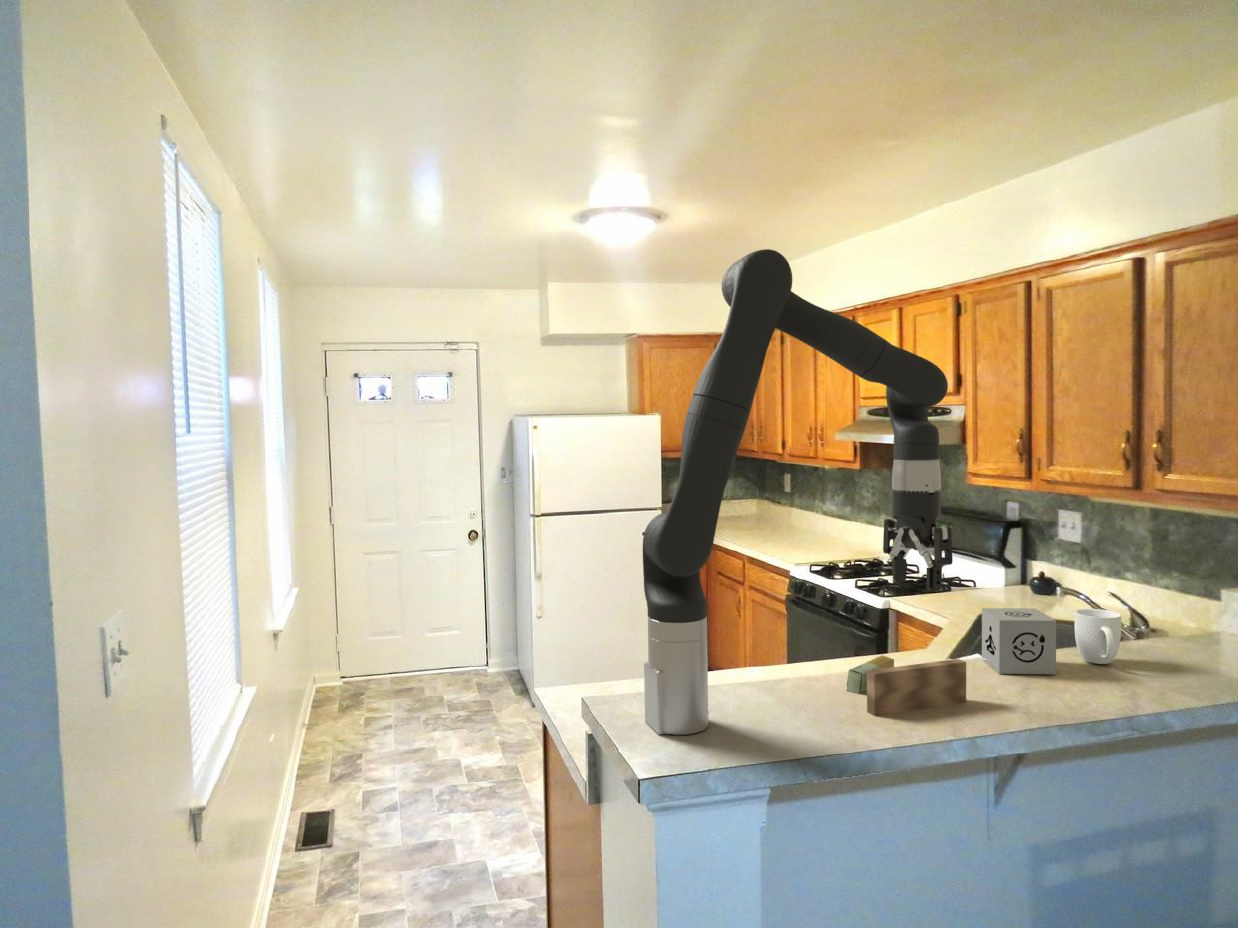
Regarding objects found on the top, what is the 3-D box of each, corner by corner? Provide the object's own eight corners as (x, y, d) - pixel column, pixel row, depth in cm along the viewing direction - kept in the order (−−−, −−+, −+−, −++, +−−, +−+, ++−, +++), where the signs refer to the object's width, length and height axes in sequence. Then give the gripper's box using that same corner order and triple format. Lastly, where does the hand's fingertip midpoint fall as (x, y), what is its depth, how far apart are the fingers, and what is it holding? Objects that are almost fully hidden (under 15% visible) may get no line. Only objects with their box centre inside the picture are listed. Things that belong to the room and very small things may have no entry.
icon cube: (1034, 658, 166) (1035, 608, 165) (1055, 674, 156) (1056, 620, 155) (981, 658, 167) (981, 608, 166) (999, 673, 157) (999, 620, 156)
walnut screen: (874, 717, 136) (874, 674, 135) (867, 713, 138) (866, 670, 137) (966, 703, 141) (966, 661, 141) (957, 699, 143) (957, 658, 143)
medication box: (859, 696, 146) (861, 674, 146) (845, 691, 148) (847, 669, 148) (893, 678, 155) (895, 657, 154) (879, 674, 156) (881, 653, 156)
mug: (1134, 671, 156) (1135, 621, 156) (1088, 670, 158) (1089, 620, 157) (1110, 655, 167) (1110, 608, 166) (1067, 654, 168) (1068, 608, 168)
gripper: (870, 485, 143) (870, 580, 144) (926, 491, 130) (926, 595, 131) (907, 483, 146) (907, 576, 147) (966, 489, 132) (965, 591, 133)
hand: (916, 585), depth 139 cm, fingers open, 8 cm apart
